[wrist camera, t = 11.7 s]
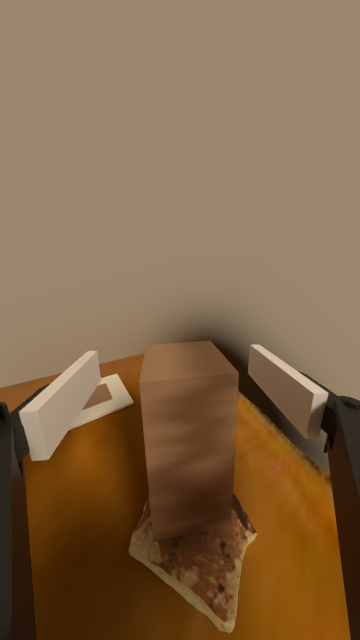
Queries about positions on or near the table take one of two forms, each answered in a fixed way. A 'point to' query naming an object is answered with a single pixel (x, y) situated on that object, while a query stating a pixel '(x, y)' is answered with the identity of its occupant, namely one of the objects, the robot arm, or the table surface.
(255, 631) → the table surface
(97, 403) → the swatch
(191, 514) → the walnut block
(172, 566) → the shard
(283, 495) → the table surface
